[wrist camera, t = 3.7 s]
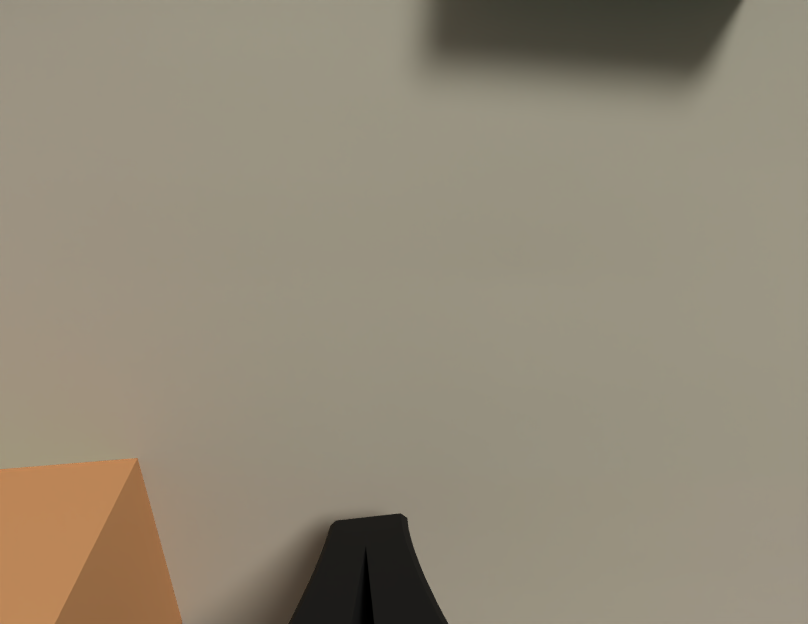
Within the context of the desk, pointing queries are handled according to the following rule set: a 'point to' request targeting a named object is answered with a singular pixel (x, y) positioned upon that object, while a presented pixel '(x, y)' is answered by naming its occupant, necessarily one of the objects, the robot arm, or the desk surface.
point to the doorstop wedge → (81, 547)
